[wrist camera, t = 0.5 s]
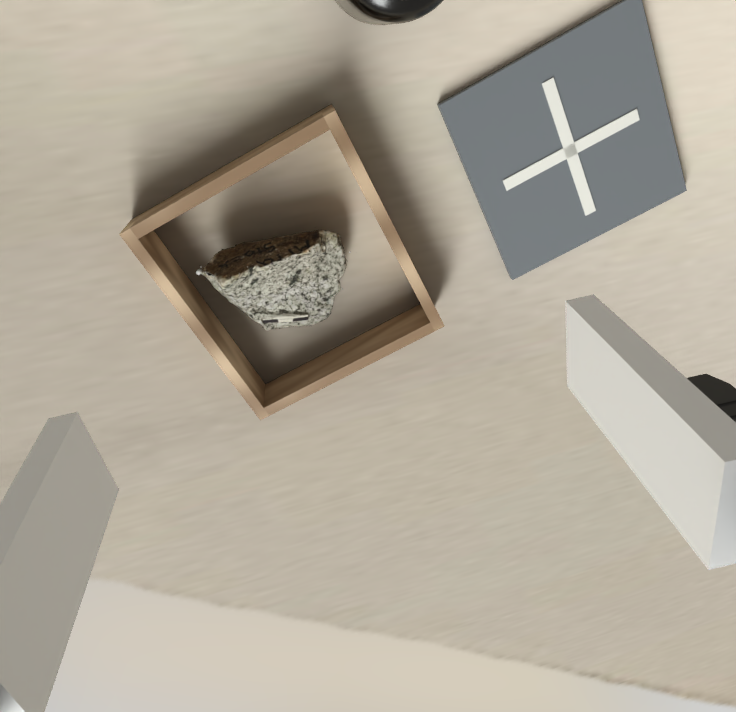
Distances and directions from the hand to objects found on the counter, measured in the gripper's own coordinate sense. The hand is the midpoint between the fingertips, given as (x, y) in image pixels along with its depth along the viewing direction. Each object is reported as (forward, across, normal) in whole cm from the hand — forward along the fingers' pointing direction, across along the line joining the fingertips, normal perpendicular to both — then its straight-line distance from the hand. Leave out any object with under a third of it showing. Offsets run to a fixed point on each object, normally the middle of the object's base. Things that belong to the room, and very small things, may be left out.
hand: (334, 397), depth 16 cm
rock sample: (+29, -2, -7) cm, 30 cm away
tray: (+28, -2, -7) cm, 29 cm away
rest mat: (+28, +18, -3) cm, 34 cm away
